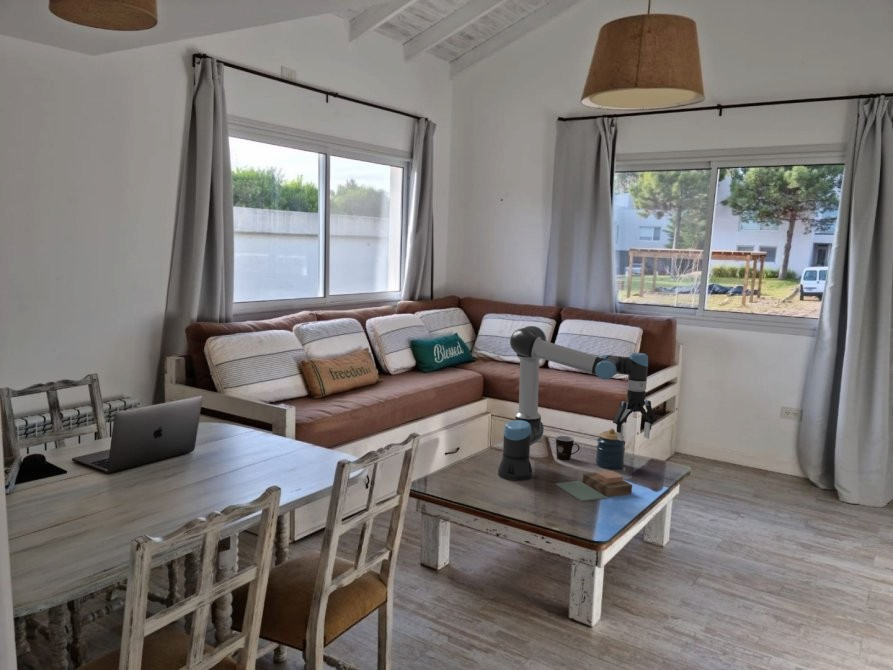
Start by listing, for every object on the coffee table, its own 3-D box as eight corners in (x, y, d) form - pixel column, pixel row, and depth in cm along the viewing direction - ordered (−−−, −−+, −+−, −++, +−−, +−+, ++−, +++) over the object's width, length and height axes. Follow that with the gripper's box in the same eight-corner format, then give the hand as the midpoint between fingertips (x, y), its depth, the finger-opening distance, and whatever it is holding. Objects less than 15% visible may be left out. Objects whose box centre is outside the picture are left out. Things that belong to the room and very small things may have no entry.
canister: (591, 466, 321) (594, 429, 318) (599, 459, 332) (602, 423, 330) (619, 471, 315) (622, 434, 312) (626, 464, 326) (629, 427, 324)
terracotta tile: (595, 476, 294) (596, 472, 294) (611, 475, 297) (611, 470, 297) (606, 483, 287) (607, 478, 286) (622, 481, 290) (623, 476, 289)
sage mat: (555, 484, 294) (555, 483, 294) (579, 481, 298) (579, 480, 298) (581, 501, 275) (581, 500, 275) (606, 498, 280) (606, 496, 280)
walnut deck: (582, 482, 298) (583, 473, 297) (605, 479, 302) (606, 471, 302) (607, 497, 281) (607, 487, 281) (631, 494, 286) (632, 485, 285)
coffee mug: (550, 456, 332) (552, 436, 331) (565, 455, 336) (567, 435, 335) (564, 464, 322) (566, 443, 321) (579, 462, 326) (581, 441, 324)
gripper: (617, 393, 282) (613, 443, 284) (666, 390, 291) (663, 439, 293) (606, 389, 289) (603, 438, 291) (655, 386, 298) (651, 434, 300)
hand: (633, 438), depth 292 cm, fingers open, 13 cm apart
